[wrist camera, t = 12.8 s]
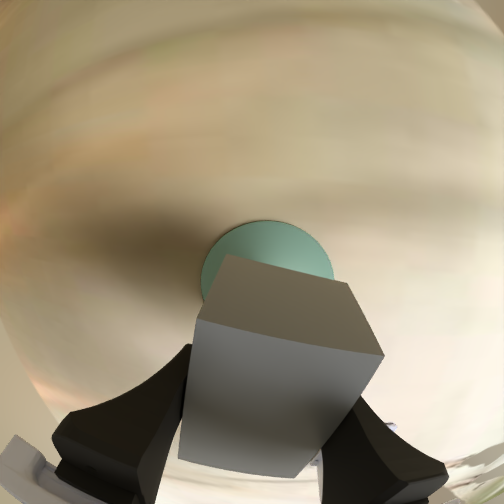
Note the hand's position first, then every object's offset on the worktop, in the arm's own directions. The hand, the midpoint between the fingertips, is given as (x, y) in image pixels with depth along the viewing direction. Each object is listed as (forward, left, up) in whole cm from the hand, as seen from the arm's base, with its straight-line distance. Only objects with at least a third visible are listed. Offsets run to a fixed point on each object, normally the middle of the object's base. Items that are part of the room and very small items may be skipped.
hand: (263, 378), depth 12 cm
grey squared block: (0, 0, -3) cm, 3 cm away
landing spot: (0, 0, -10) cm, 10 cm away
